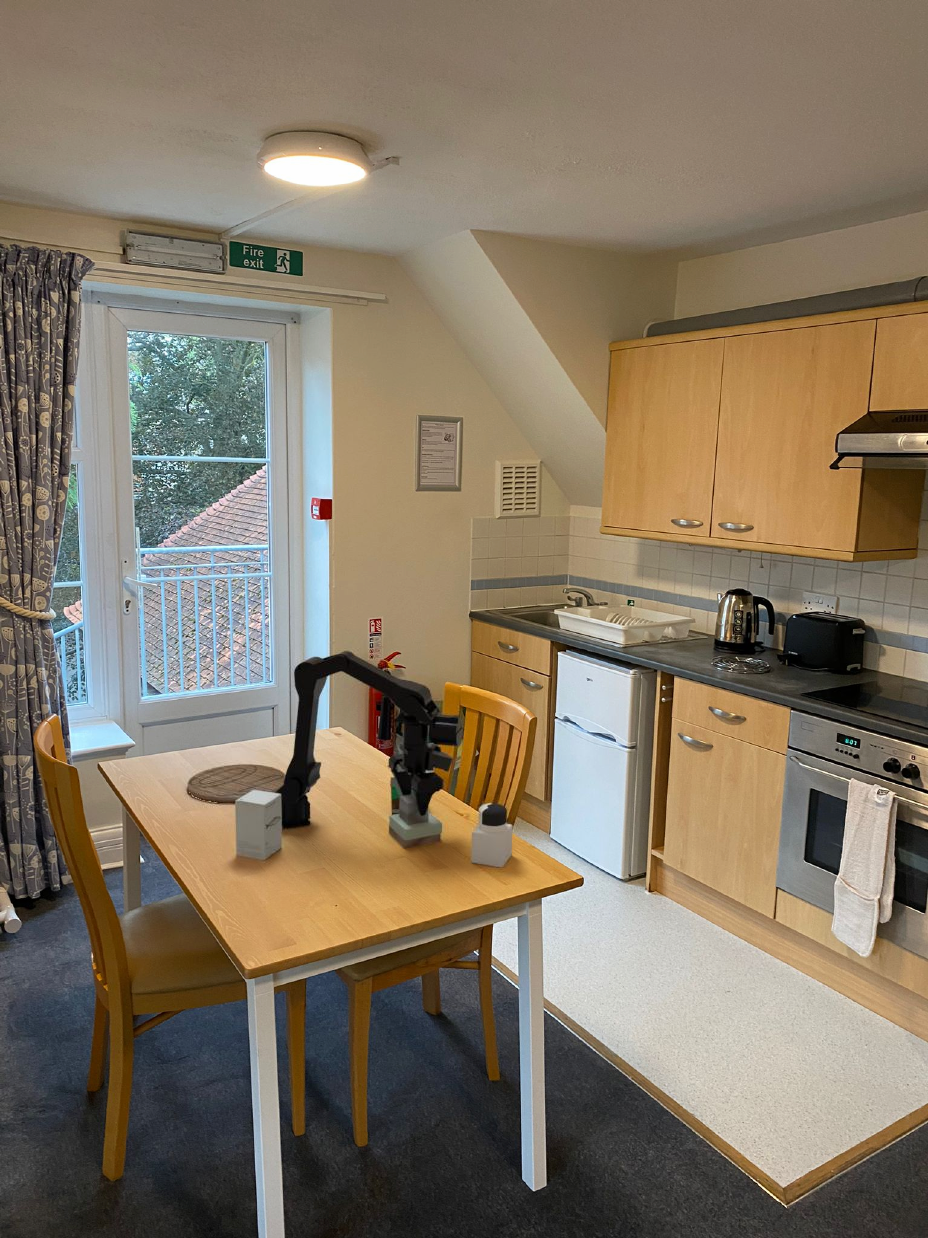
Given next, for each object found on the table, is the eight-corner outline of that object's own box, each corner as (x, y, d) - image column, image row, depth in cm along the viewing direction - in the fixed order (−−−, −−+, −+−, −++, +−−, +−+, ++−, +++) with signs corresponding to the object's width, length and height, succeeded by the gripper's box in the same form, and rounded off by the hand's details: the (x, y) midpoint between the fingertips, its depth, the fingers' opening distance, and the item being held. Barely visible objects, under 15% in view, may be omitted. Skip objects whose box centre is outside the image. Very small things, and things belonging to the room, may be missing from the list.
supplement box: (265, 861, 199) (263, 805, 196) (235, 855, 201) (233, 800, 199) (283, 848, 205) (282, 793, 203) (254, 842, 208) (253, 788, 206)
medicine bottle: (512, 855, 204) (513, 803, 202) (502, 868, 197) (504, 814, 195) (481, 850, 206) (482, 798, 204) (470, 863, 200) (471, 810, 197)
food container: (414, 820, 222) (415, 780, 220) (389, 818, 223) (390, 778, 221) (427, 801, 234) (427, 763, 232) (403, 799, 235) (403, 761, 233)
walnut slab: (403, 850, 207) (403, 840, 206) (388, 835, 214) (388, 825, 214) (440, 844, 210) (440, 833, 210) (424, 829, 218) (425, 819, 218)
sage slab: (405, 840, 206) (405, 830, 205) (389, 825, 214) (389, 815, 213) (442, 833, 210) (442, 823, 210) (424, 819, 218) (424, 809, 217)
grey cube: (407, 825, 208) (408, 803, 207) (399, 817, 212) (399, 796, 212) (428, 821, 210) (428, 800, 209) (419, 813, 215) (419, 793, 214)
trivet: (306, 783, 246) (306, 776, 246) (236, 813, 225) (236, 805, 225) (238, 764, 259) (238, 758, 259) (166, 791, 239) (166, 784, 238)
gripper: (466, 750, 203) (464, 817, 206) (432, 726, 220) (431, 789, 223) (418, 756, 199) (418, 825, 201) (387, 731, 215) (387, 796, 218)
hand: (414, 808), depth 211 cm, fingers open, 9 cm apart
